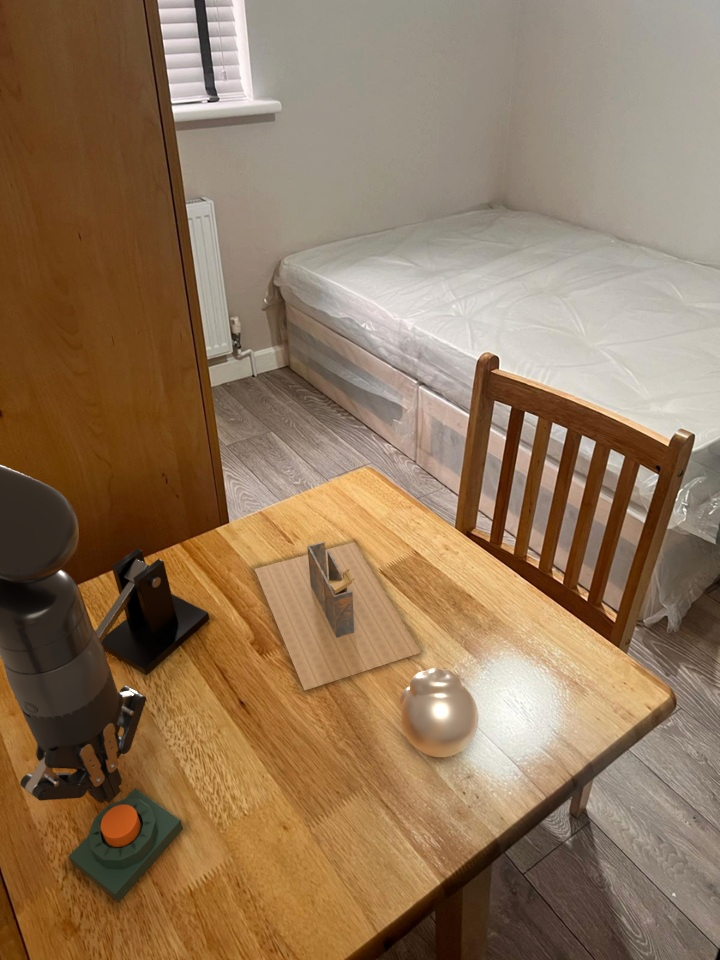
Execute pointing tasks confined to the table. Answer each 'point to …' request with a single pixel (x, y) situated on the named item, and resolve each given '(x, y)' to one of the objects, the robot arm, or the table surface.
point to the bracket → (150, 617)
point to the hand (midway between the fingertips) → (108, 793)
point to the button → (120, 825)
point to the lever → (121, 599)
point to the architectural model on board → (333, 614)
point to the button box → (126, 847)
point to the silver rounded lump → (438, 713)
